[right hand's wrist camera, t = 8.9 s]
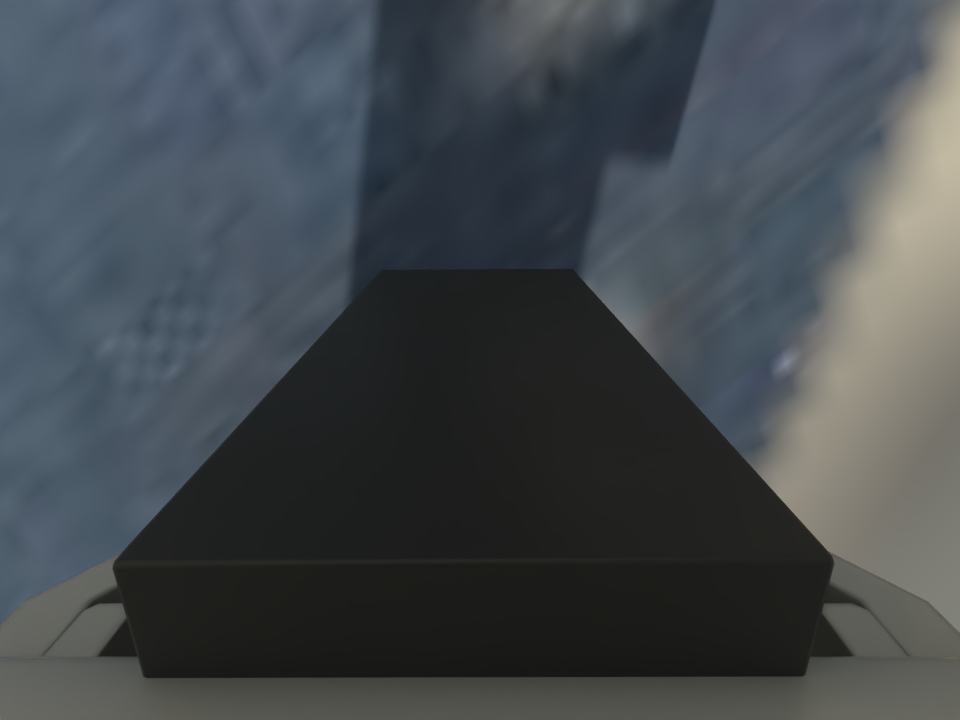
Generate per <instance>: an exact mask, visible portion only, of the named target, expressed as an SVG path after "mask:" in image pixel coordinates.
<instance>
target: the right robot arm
mask: <svg viewBox="0 0 960 720" xmlns="http://www.w3.org/2000/svg"><path fill="white" fill-rule="evenodd" d="M828 552H829V551H828ZM829 553H830V554H831V555H832V557H833V559H834V568H833V571H832V575H831V579H830V583H829V587H828V590H827V594H826V598H825V602H824V606H823V610H822V613H821V617H820V621H819V625H818V629H817V632H816V636H815V640H814V644H813V648H812V651H811V655H810V659H809V663H808V667H807V671H806V674H805V675H804V676H802V677H396V678H146V677H143V674H142V671H141V667H140V664H139V660H138V657H137V653H136V650H135V646H134V643H133V639H132V636H131V632H130V629H129V625H128V622H127V618H126V615H125V611H124V608H123V604H122V600H121V597H120V593H119V590H118V586H117V583H116V579H115V576H114V572H113V569H112V568H113V563H114V561H115V560H116V558H117V557H118V556H119V555H120V554H119V555H117V556H115V557H113V558H110V559H108V560H106V561H104V562H102V563H100V564H98V565H96V566H94V567H92V568H90V569H88V570H86V571H84V572H82V573H80V574H78V575H76V576H74V577H72V578H70V579H68V580H66V581H64V582H62V583H60V584H58V585H56V586H54V587H52V588H50V589H48V590H46V591H44V592H42V593H40V594H38V595H36V596H34V597H32V598H30V599H28V600H26V601H25V602H24V603H23V604H22V605H21V606H20V607H19V608H18V609H16V610H15V611H14V612H13V613H12V614H11V615H10V616H9V617H8V618H7V619H6V620H5V621H4V622H3V623H2V624H1V625H0V720H960V633H959V632H958V631H957V630H956V629H955V628H954V627H953V626H952V625H951V624H950V623H949V622H948V621H947V620H946V619H945V618H944V617H943V616H942V615H941V614H940V613H939V612H938V611H937V610H936V609H935V608H934V607H933V606H932V605H931V604H930V603H929V602H927V601H926V600H924V599H922V598H920V597H918V596H916V595H914V594H912V593H910V592H908V591H906V590H904V589H902V588H900V587H898V586H896V585H894V584H892V583H890V582H888V581H886V580H884V579H882V578H880V577H878V576H876V575H874V574H872V573H870V572H868V571H866V570H864V569H862V568H860V567H858V566H856V565H854V564H852V563H850V562H848V561H846V560H844V559H842V558H840V557H838V556H836V555H834V554H832V553H831V552H829Z"/></svg>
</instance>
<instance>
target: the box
mask: <svg viewBox="0 0 960 720" xmlns="http://www.w3.org/2000/svg"><path fill="white" fill-rule="evenodd" d="M833 568H834V559H833V557H832V555H831V554H830V553H829V552H828V551H827V550H826V549H825V548H824V547H823V545H822V544H821V543H820V542H819V541H818V540H817V539H816V538H815V537H814V536H813V534H812V533H811V532H810V531H809V530H808V529H807V528H806V527H805V526H804V524H803V523H802V522H801V521H800V520H799V519H798V518H797V517H796V516H795V514H794V513H793V512H792V511H791V510H790V509H789V508H788V507H787V506H786V505H785V503H784V502H783V501H782V500H781V499H780V498H779V497H778V496H777V495H776V493H775V492H774V491H773V490H772V489H771V488H770V487H769V486H768V485H767V484H766V482H765V481H764V480H763V479H762V478H761V477H760V476H759V475H758V474H757V472H756V471H755V470H754V469H753V468H752V467H751V466H750V465H749V464H748V463H747V461H746V460H745V459H744V458H743V457H742V456H741V455H740V454H739V453H738V452H737V450H736V449H735V448H734V447H733V446H732V445H731V444H730V443H729V442H728V440H727V439H726V438H725V437H724V436H723V435H722V434H721V433H720V432H719V431H718V429H717V428H716V427H715V426H714V425H713V424H712V423H711V422H710V421H709V419H708V418H707V417H706V416H705V415H704V414H703V413H702V412H701V411H700V410H699V408H698V407H697V406H696V405H695V404H694V403H693V402H692V401H691V400H690V398H689V397H688V396H687V395H686V394H685V393H684V392H683V391H682V390H681V389H680V387H679V386H678V385H677V384H676V383H675V382H674V381H673V380H672V379H671V377H670V376H669V375H668V374H667V373H666V372H665V371H664V370H663V369H662V368H661V366H660V365H659V364H658V363H657V362H656V361H655V360H654V359H653V358H652V356H651V355H650V354H649V353H648V352H647V351H646V350H645V349H644V348H643V347H642V345H641V344H640V343H639V342H638V341H637V340H636V339H635V338H634V337H633V335H632V334H631V333H630V332H629V331H628V330H627V329H626V328H625V327H624V326H623V324H622V323H621V322H620V321H619V320H618V319H617V318H616V317H615V316H614V314H613V313H612V312H611V311H610V310H609V309H608V308H607V307H606V306H605V305H604V303H603V302H602V301H601V300H600V299H599V298H598V297H597V296H596V295H595V293H594V292H593V291H592V290H591V289H590V288H589V287H588V286H587V285H586V284H585V282H584V281H583V280H582V279H581V278H580V277H579V276H578V275H577V274H576V273H575V271H574V270H573V269H486V270H381V271H380V272H379V273H378V274H377V276H376V277H375V278H374V279H373V280H372V281H371V282H370V283H369V284H368V285H367V286H366V288H365V289H364V290H363V291H362V292H361V293H360V294H359V295H358V296H357V297H356V298H355V300H354V301H353V302H352V303H351V304H350V305H349V306H348V307H347V308H346V309H345V310H344V311H343V313H342V314H341V315H340V316H339V317H338V318H337V319H336V320H335V321H334V322H333V323H332V325H331V326H330V327H329V328H328V329H327V330H326V331H325V332H324V333H323V334H322V335H321V337H320V338H319V339H318V340H317V341H316V342H315V343H314V344H313V345H312V346H311V347H310V348H309V350H308V351H307V352H306V353H305V354H304V355H303V356H302V357H301V358H300V359H299V360H298V362H297V363H296V364H295V365H294V366H293V367H292V368H291V369H290V370H289V371H288V372H287V374H286V375H285V376H284V377H283V378H282V379H281V380H280V381H279V382H278V383H277V384H276V385H275V387H274V388H273V389H272V390H271V391H270V392H269V393H268V394H267V395H266V396H265V397H264V399H263V400H262V401H261V402H260V403H259V404H258V405H257V406H256V407H255V408H254V409H253V411H252V412H251V413H250V414H249V415H248V416H247V417H246V418H245V419H244V420H243V421H242V422H241V424H240V425H239V426H238V427H237V428H236V429H235V430H234V431H233V432H232V433H231V434H230V436H229V437H228V438H227V439H226V440H225V441H224V442H223V443H222V444H221V445H220V446H219V447H218V449H217V450H216V451H215V452H214V453H213V454H212V455H211V456H210V457H209V458H208V459H207V461H206V462H205V463H204V464H203V465H202V466H201V467H200V468H199V469H198V470H197V471H196V473H195V474H194V475H193V476H192V477H191V478H190V479H189V480H188V481H187V482H186V483H185V484H184V486H183V487H182V488H181V489H180V490H179V491H178V492H177V493H176V494H175V495H174V496H173V498H172V499H171V500H170V501H169V502H168V503H167V504H166V505H165V506H164V507H163V508H162V510H161V511H160V512H159V513H158V514H157V515H156V516H155V517H154V518H153V519H152V520H151V521H150V523H149V524H148V525H147V526H146V527H145V528H144V529H143V530H142V531H141V532H140V533H139V535H138V536H137V537H136V538H135V539H134V540H133V541H132V542H131V543H130V544H129V545H128V547H127V548H126V549H125V550H124V551H123V552H122V553H121V554H120V555H119V556H118V557H117V558H116V560H115V561H114V563H113V568H112V569H113V572H114V576H115V579H116V583H117V586H118V590H119V593H120V597H121V600H122V604H123V608H124V611H125V615H126V618H127V622H128V625H129V629H130V632H131V636H132V639H133V643H134V646H135V650H136V653H137V657H138V660H139V664H140V667H141V671H142V674H143V677H146V678H396V677H802V676H804V675H805V674H806V671H807V667H808V663H809V659H810V655H811V651H812V648H813V644H814V640H815V636H816V632H817V629H818V625H819V621H820V617H821V613H822V610H823V606H824V602H825V598H826V594H827V590H828V587H829V583H830V579H831V575H832V571H833Z"/></svg>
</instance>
